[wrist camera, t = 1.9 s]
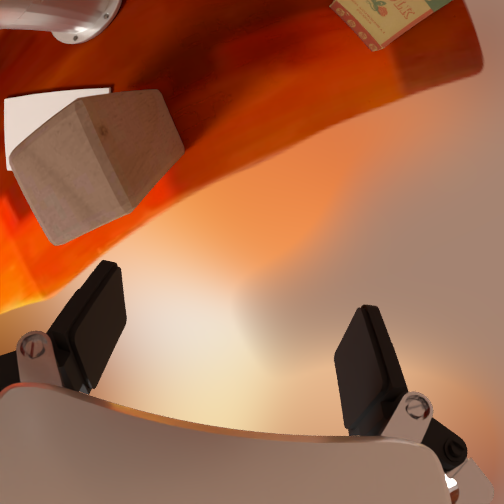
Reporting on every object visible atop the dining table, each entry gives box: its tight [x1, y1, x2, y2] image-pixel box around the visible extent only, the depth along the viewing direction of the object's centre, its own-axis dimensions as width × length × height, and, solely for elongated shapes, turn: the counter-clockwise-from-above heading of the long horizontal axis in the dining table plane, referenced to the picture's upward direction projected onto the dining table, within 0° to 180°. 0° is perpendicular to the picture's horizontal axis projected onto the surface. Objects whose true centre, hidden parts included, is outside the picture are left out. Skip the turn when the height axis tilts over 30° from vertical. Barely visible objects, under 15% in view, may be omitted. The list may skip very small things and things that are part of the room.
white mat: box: [4, 88, 111, 170], centre depth 36 cm, size 13×22×1 cm, turn 81°
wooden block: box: [9, 89, 184, 245], centre depth 28 cm, size 10×10×20 cm
